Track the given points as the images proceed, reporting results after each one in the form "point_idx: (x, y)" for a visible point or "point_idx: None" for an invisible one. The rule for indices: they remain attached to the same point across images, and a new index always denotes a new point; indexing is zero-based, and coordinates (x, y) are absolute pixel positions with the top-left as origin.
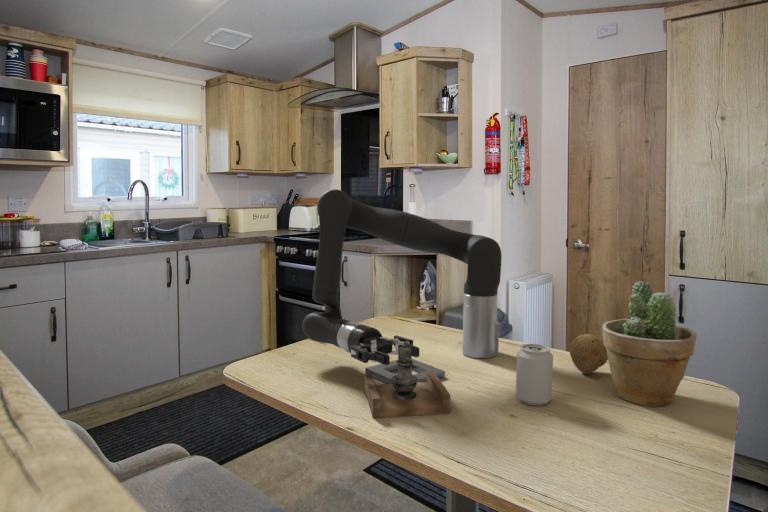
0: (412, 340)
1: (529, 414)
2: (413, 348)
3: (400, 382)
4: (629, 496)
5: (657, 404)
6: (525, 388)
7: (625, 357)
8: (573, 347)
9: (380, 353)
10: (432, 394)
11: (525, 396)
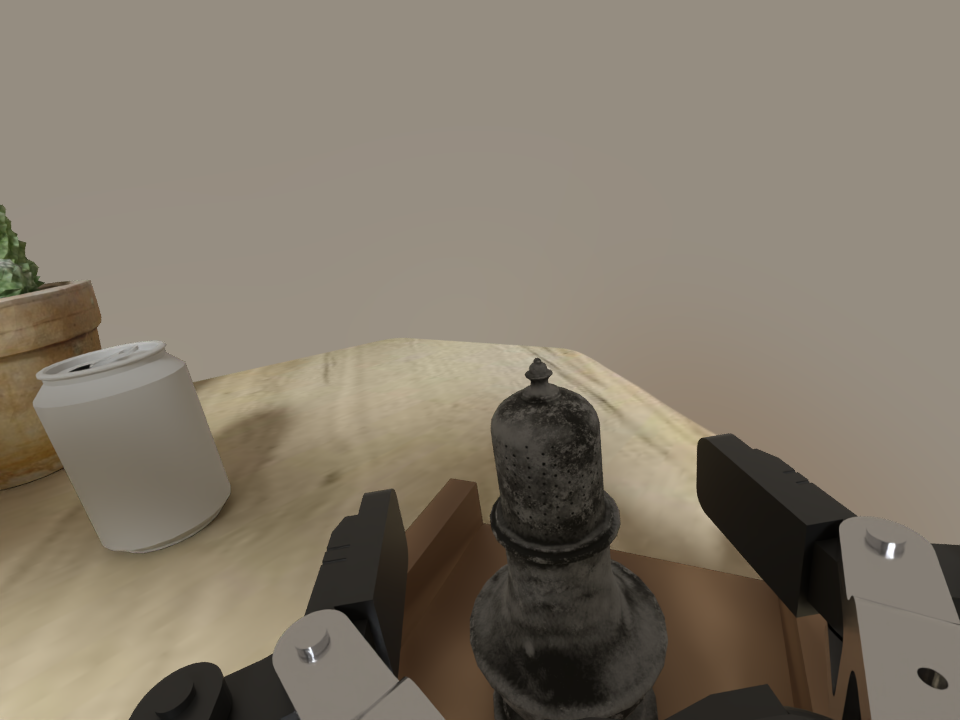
0: (159, 691)
1: (294, 472)
2: (390, 523)
3: (620, 570)
4: (451, 346)
5: None
6: (215, 461)
7: (70, 344)
8: None
9: (784, 475)
10: (427, 630)
11: (223, 484)
